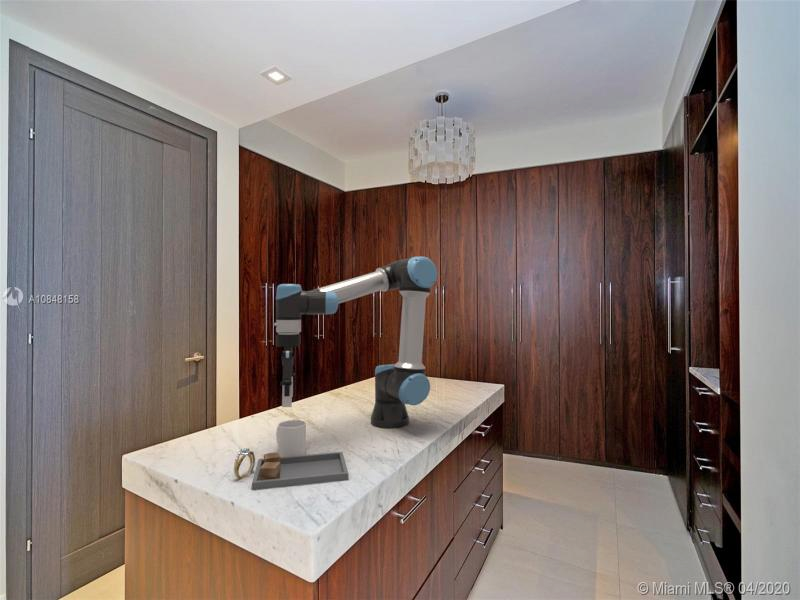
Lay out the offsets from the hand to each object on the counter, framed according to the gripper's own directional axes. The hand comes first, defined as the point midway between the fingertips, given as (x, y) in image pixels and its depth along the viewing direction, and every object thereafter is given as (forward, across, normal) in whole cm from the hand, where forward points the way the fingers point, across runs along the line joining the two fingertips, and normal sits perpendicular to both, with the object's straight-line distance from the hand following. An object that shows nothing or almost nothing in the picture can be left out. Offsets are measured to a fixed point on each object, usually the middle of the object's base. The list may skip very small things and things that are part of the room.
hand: (287, 401), depth 125 cm
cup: (+17, 0, 0) cm, 17 cm away
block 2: (+16, +19, -4) cm, 25 cm away
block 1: (+16, +12, -4) cm, 20 cm away
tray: (+17, +16, +4) cm, 23 cm away
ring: (+17, +15, -11) cm, 25 cm away
